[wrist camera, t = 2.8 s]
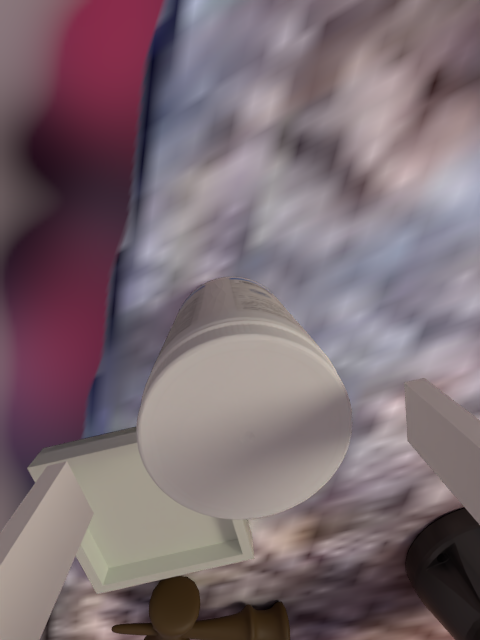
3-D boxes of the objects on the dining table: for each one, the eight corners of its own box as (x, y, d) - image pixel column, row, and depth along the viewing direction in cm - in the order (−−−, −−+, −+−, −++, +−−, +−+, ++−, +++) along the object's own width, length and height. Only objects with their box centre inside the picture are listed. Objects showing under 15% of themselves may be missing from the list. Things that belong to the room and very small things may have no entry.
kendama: (272, 627, 40) (116, 625, 37) (289, 574, 38) (123, 567, 35) (282, 693, 34) (98, 696, 31) (303, 635, 32) (106, 633, 29)
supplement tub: (201, 390, 28) (182, 551, 14) (158, 297, 25) (82, 385, 11) (299, 355, 28) (379, 486, 14) (266, 256, 25) (325, 296, 11)
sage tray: (251, 535, 34) (254, 558, 32) (105, 568, 34) (96, 594, 32) (214, 408, 29) (214, 424, 27) (43, 448, 29) (27, 468, 27)
